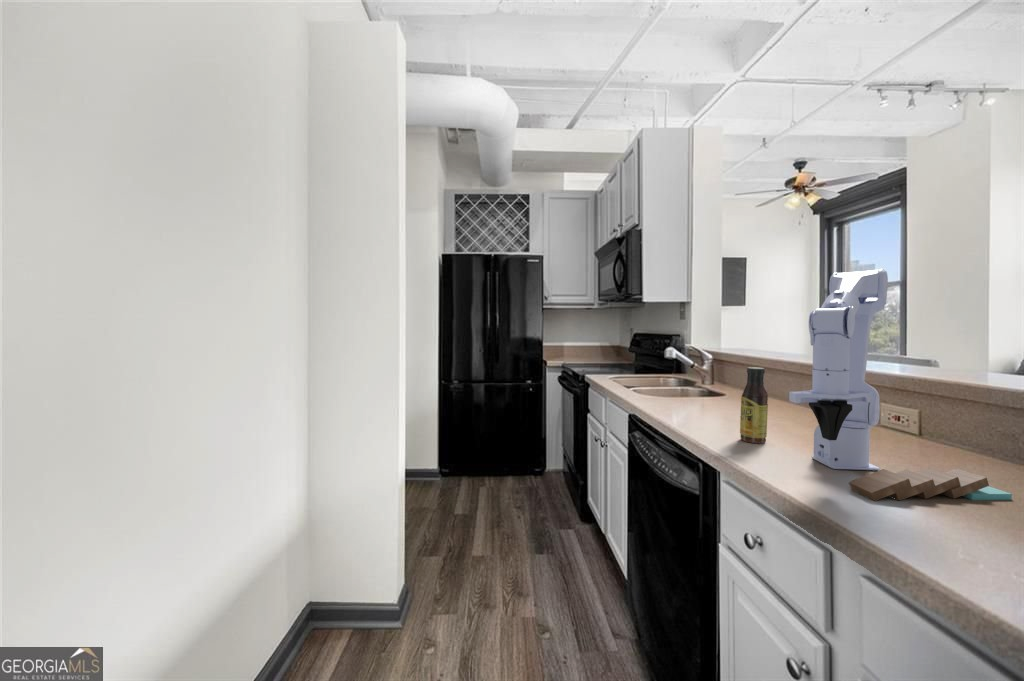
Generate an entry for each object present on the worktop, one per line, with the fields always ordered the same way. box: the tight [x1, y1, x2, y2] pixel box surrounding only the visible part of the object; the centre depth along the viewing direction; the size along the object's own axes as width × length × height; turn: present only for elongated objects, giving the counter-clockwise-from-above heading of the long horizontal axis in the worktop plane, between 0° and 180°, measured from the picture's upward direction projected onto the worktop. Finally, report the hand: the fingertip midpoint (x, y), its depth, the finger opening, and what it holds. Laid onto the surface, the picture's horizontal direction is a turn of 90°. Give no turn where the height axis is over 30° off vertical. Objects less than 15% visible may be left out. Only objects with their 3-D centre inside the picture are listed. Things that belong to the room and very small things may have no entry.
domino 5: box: [962, 485, 1013, 501], centre depth 77 cm, size 2×5×7 cm
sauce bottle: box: [739, 366, 769, 444], centre depth 113 cm, size 7×6×20 cm
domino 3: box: [915, 467, 960, 500], centre depth 78 cm, size 2×5×7 cm
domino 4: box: [938, 468, 990, 499], centre depth 78 cm, size 2×5×7 cm
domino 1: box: [848, 468, 912, 502], centre depth 77 cm, size 2×5×7 cm
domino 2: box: [888, 469, 936, 501], centre depth 77 cm, size 2×5×7 cm
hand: (829, 438), depth 83 cm, fingers closed
